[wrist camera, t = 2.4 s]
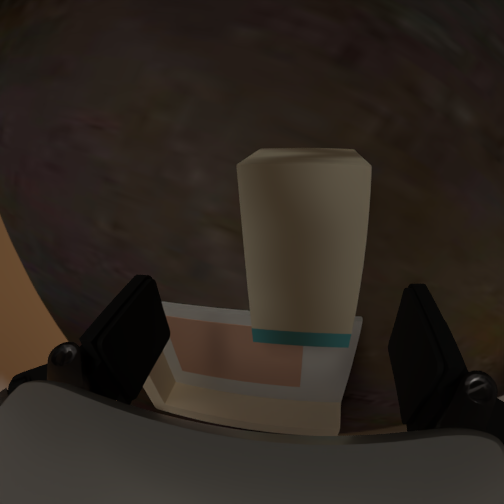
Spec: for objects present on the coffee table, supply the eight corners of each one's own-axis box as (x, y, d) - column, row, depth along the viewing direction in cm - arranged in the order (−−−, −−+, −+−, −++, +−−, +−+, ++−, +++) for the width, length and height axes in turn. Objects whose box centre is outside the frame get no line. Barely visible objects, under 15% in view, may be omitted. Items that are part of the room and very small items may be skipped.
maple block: (353, 149, 14) (371, 166, 9) (344, 291, 18) (348, 347, 13) (260, 148, 15) (236, 164, 10) (268, 288, 19) (253, 341, 14)
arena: (362, 316, 18) (366, 353, 15) (338, 406, 24) (336, 436, 21) (132, 297, 22) (110, 323, 19) (168, 384, 28) (156, 408, 25)
